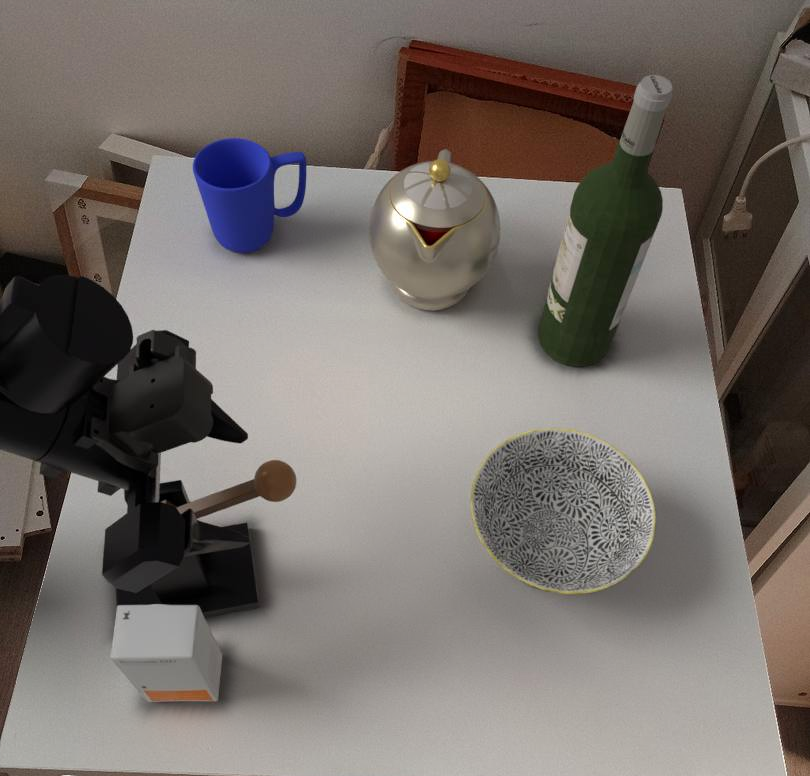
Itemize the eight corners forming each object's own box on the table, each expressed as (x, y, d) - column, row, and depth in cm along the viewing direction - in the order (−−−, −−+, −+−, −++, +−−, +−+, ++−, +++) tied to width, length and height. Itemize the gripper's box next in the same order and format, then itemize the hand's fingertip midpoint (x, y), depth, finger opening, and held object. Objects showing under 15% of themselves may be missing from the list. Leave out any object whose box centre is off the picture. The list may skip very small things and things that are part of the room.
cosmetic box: (147, 704, 69) (106, 659, 58) (153, 654, 71) (115, 602, 60) (220, 703, 69) (193, 658, 58) (225, 653, 71) (199, 601, 61)
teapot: (484, 343, 89) (506, 225, 74) (359, 327, 89) (357, 207, 75) (497, 225, 98) (518, 100, 83) (383, 211, 98) (385, 84, 84)
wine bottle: (534, 310, 91) (599, 51, 65) (605, 312, 91) (698, 54, 65) (539, 367, 87) (611, 116, 61) (613, 369, 88) (716, 120, 61)
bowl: (653, 613, 74) (680, 579, 68) (479, 635, 73) (490, 603, 66) (607, 462, 82) (627, 419, 75) (449, 479, 80) (456, 436, 74)
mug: (321, 243, 95) (316, 171, 86) (219, 269, 93) (203, 198, 84) (299, 196, 99) (292, 122, 90) (200, 220, 96) (183, 147, 88)
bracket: (248, 528, 77) (227, 455, 66) (259, 607, 73) (239, 544, 62) (117, 550, 75) (72, 480, 64) (121, 633, 72) (75, 573, 60)
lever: (299, 465, 65) (282, 447, 62) (306, 500, 63) (288, 483, 61) (154, 518, 67) (131, 502, 64) (157, 553, 66) (133, 539, 63)
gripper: (104, 494, 44) (323, 562, 55) (123, 242, 53) (308, 341, 64) (9, 567, 50) (222, 616, 61) (41, 331, 59) (221, 408, 70)
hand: (245, 489), depth 64 cm, fingers open, 9 cm apart
